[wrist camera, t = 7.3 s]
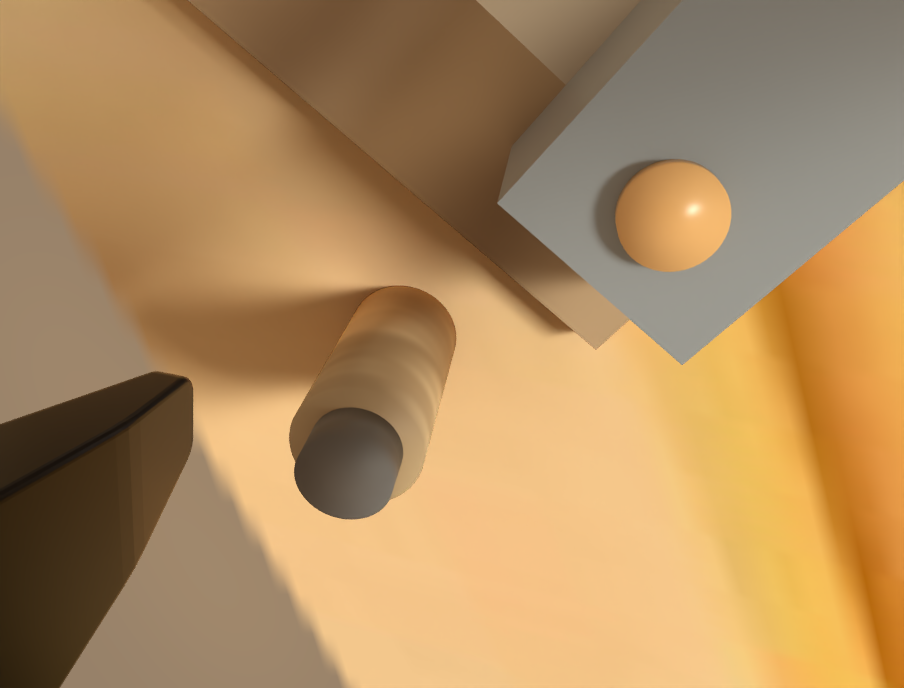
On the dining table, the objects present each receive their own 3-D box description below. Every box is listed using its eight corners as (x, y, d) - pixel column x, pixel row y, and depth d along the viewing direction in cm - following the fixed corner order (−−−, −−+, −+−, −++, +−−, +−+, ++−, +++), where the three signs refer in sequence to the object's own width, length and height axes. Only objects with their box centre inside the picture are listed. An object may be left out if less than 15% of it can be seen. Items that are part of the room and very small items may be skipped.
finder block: (890, 58, 17) (1021, 97, 12) (654, 274, 20) (684, 374, 15) (735, -108, 16) (813, -139, 11) (511, 146, 19) (496, 209, 14)
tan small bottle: (478, 333, 22) (445, 480, 16) (411, 399, 24) (357, 559, 17) (394, 264, 22) (326, 389, 15) (331, 336, 23) (244, 478, 17)
